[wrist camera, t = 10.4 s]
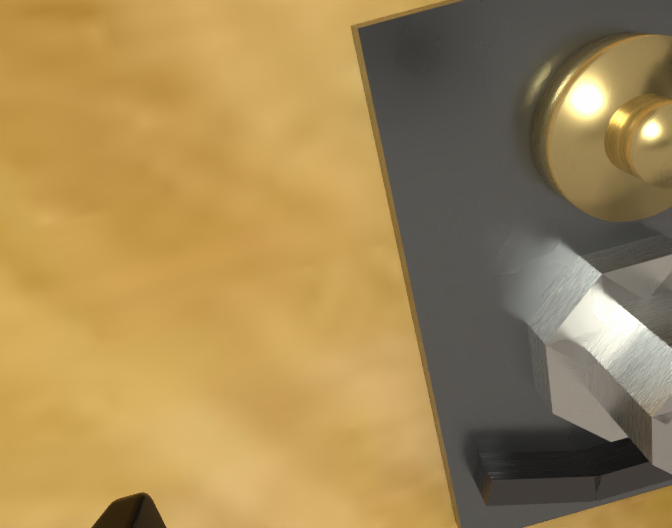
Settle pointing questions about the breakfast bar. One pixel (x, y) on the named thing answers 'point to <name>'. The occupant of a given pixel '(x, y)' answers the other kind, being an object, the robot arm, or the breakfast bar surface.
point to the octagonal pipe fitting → (611, 346)
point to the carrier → (517, 219)
